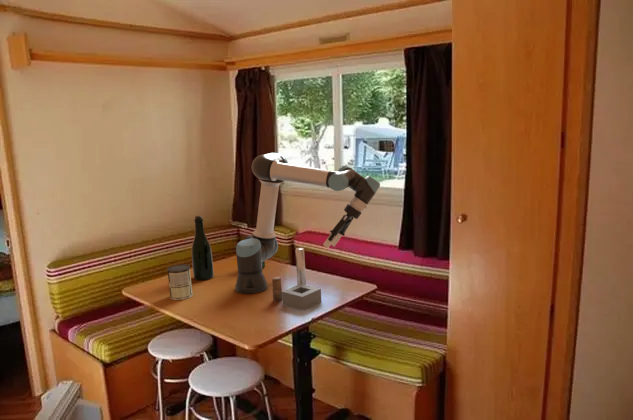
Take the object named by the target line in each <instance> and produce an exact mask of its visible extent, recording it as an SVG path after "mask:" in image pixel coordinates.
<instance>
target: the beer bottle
mask: <svg viewBox="0 0 633 420" xmlns="http://www.w3.org/2000/svg"><path fill="white" fill-rule="evenodd" d="M193 223H194V228H195V229H194V237H193V241H192V244H191V260H192V261H191V262H192V264H191V265H192V276H193V279H194V280H196V281H207V280H211V279H213V278H214V276H215V275H214V274H215V273H214V261H213V254H212V252H213V251H212V247H211V244H210V242H209V240H208V237H207V235H206V232H205V226H204V218H203V217H202V215H195V216H194V222H193Z"/></svg>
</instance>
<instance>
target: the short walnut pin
mask: <svg viewBox="0 0 633 420" xmlns="http://www.w3.org/2000/svg"><path fill="white" fill-rule="evenodd" d="M271 284H272V298H273V299H272V300H273V302H275V301H276V302H277V303H278V302H281V301H282V291H283V290H282V277H278V276H276V277H272V278H271Z"/></svg>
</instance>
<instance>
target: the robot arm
mask: <svg viewBox="0 0 633 420" xmlns="http://www.w3.org/2000/svg"><path fill="white" fill-rule="evenodd" d="M251 172H252V173H253V175H254V176H255V177H256V179H257V178H258V181H259V182H260V183H261V185H260V191H259V192H260V195H259V200H258V201H259V204H258V208H257V209H258V211H257V220H256V228H255V230H254V231H252V234H251V235H252V238H251V239H246V238H245V239H242V240H240V241H239V242H237V244H236V247H235V248H236V250H235V254H236V262H237V263H236V264H237V277H236V283H235V285H234V286H235V291H236V292H237V293H239V294H245V295H246V294H247V295H248V294H249V295H250V294H257V293H261V292H264V291H265V290H267V288H268V283H267V280H266V278H265V275H264V273H263V268H262V262H263V261H265V262H266V261H267V260H269V259H271V258H273V256H275V254H276V253H277V252H278V248H279V245H278V244H279V243H278V240H277V238H276V236H277V235H276V233H275V232H274V228H275V220H276V214H277V212H276V211H277V205H278V198H279V188H280V186H281V184H283V182H284V181H286V182H293V183H298V184H303V185H310V186H311V185H312V186H316V187H322V188H328V189H331V190H333V191H336V192H340V191H344V190H346V189H347V188H349V189H351V190H352V191H354V192H355V193H354V194H353V196H351V198H350V200H349V201H348V203H347V205H345V207H344V209H343V210H344V212H345V213H346V214H344V215H343V216H342V217H341V219H339V221H338V222H337V223H336V225H335V226H334V227H333V228H332V229H331V230H330V231H329V236H328V237H327V238H326V240H325V241H324V242H323V245H322V246H324V247H325V248H327V249H329V247H331V246H333V247H334V248H335V247H336V245H337V244H338V242H339V241H340V239H341V238H342V237H344V236H345V234H346V232H347V230H348V228H349V226H350V225H351V223H352V221H353V220H354V219H355V220H358V219H359V217H361V214H362V212H363V211H364V210H365V209H367V208H368V205H369V203H370V202H371V200H372V199H373V198H374V196H375V195H376V194H377V192H378V190H379V188H380V186H381V183H380V182H379V181H377V180H376V179H375V178H373V177H372V176H370V175H367V176H363V175H361V174H359V173H358V172H357V171H356V170H354V169H352V168H351V167H349V166H348V165H346V164H343V165H341V166H340V167H339V168H338V170H337V171H336V170H335V171H334V170H329V169H323V168H316V167H309V166H303V165H297V164H291V163H290V164H289V163H288V160H287V159H286V157H285V156H284V155H283V154H282V153H279V152H270V153H265V154H260V155H258V156H256V157H255V158H254V159H253V160H252V164H251Z"/></svg>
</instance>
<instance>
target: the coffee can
mask: <svg viewBox="0 0 633 420" xmlns="http://www.w3.org/2000/svg"><path fill="white" fill-rule="evenodd" d="M166 271H167V277H168V278H167V279H168V287H169V288H168V289H169V298H170V299H171V300H173V301H181V300H182V301H183V300H187V299H190V298H192V297H193V295H194V294H193V286H192V279H191V278H192V277H191V266H190V265H189V264H186V263H185V264H182V263H181V264H176V265H175V264H174V265H171V266H169V267H167V268H166Z"/></svg>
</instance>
